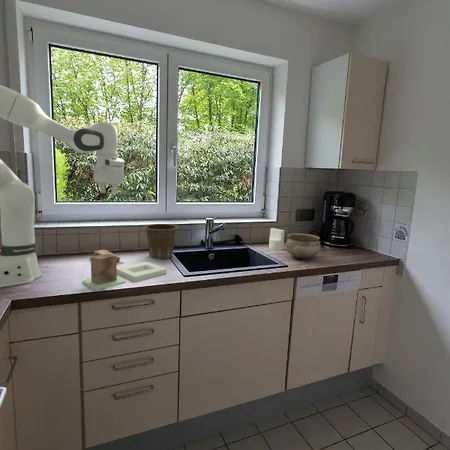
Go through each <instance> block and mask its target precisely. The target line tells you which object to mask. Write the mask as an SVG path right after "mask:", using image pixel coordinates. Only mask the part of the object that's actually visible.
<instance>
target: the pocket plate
mask: <svg viewBox="0 0 450 450" xmlns="http://www.w3.org/2000/svg"><path fill="white" fill-rule="evenodd" d="M165 274H166V275H167V268H166V267H162V266H159V265H157V264H154V263H151V262H149V261H143V262H138V263H135V264H128V265H125V266H120V267H117V275H119V276H121V277H124V278H126V279H128V280H129V281H131V282H139V281H143V280H147V279H151V278H154V277H155V278H156V277H158V276H161V275H165Z"/></svg>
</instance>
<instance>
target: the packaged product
mask: <svg viewBox="0 0 450 450" xmlns="http://www.w3.org/2000/svg"><path fill="white" fill-rule="evenodd" d="M104 254H113V255H115V256H116V264H117V266H119V265H122V264H125V262H123V261H122V260H121V258H120V256H118V255H116V254H114V253H112V252H110V251H109V250H108V249H98V250H94V251H93V255H92V256H90V257H89V260H90V261H91V257H93V256H99V255H104Z"/></svg>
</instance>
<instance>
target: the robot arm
mask: <svg viewBox="0 0 450 450" xmlns="http://www.w3.org/2000/svg"><path fill="white" fill-rule="evenodd" d="M0 118H1V119H3V120H5V121H8V122H10V123H12V124H15V125H16V126H17V125H18V126H19V127H20V126H21V127H24V128H27V129H31V130H35V131H37V132H38V131H39V132H42V133H44V134H46V135H48V136H50V137H52V138H55V139H56V140H59V141H61V142H63V143H64V144H65V145H67V146H68V147H69V148H70V149H71V150H72V151H73V152H74V153H77V154H80V155H85V154H88V153H91V152H96V153H95V154H96V164H95V165H94V167H93V181H94V183H98V188H99V189H100V190H99V191H100V193H101V194H105V193H106V192H107V190H106V187H105V184H111V187H112V189H111V190H110V194H111V195H117V194H118V193H117V191H118V188H119V185H123V184H124V182H125V169H124V167H125V161H124V160H122V159H121V158H120V157H119V152H118V147H119V136H118V131H117V130H118V129H117V127H116V126H115V125H114V124H113V123H110V122H106V121H97V122H96V123H94V124H92V125H90V126H86V127H81V128H78V129H73V128H69V127H67V126H66V125H64V124H62V123H60V122H57V121H56V120H54V119H52V118H51V117H50V116H48V115H47V114H46V113H45V112H44V110H42V107H41V106H40V105H39V104H38V103H37V102H35V101H34V100H32V99H31V98H30V97H28V96H26V95H24V94H22V93H21V92H18V91H16V90H14V89H11V88H9V87H8V86H4V85H3V84H0ZM35 207H36V206H35V193H34V190H33V188H32V187H31V186H30V185H28V184H27V183H25V182H23V181H22V179H20V177H18V176H17V174H15V173H14V171H12V169H11V168H10V167H9V166H8V165H7V164H6V163H5V162H4V161H3V159H1V158H0V232H1V244H0V288H4V287H12V286H18V285H25V284H30V283H32V282H34V281H35V280H37V279H38V278H40V277H41V276H42V274H43V273H42V272H41V269H40V266H39V262H38V256H37V255H38V245H37V242H36V236H35V235H36V234H35V209H36V208H35Z"/></svg>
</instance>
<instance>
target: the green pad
mask: <svg viewBox="0 0 450 450" xmlns="http://www.w3.org/2000/svg"><path fill="white" fill-rule="evenodd" d="M126 282H127V281H126V280H124V279H123V278H120V277H118V276H117V280H115V281H111V282H107V283H103V284H99V285H97V284H95V283H93V282H92V281H91V278H87V279H82V281H81V283H82V284H84V285H85V286H87V287H88V288H91V289H92V290H94V291H95V292H98V291H99V292H100V291H103V290H106V289H107V288H110V287H114V286H118V285H122V284H125V283H126Z"/></svg>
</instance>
